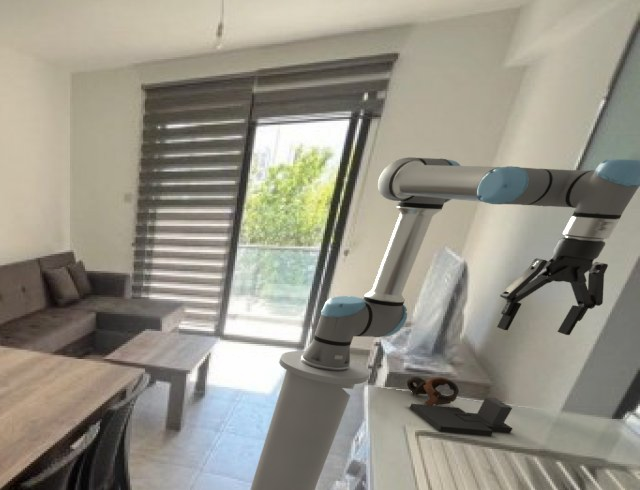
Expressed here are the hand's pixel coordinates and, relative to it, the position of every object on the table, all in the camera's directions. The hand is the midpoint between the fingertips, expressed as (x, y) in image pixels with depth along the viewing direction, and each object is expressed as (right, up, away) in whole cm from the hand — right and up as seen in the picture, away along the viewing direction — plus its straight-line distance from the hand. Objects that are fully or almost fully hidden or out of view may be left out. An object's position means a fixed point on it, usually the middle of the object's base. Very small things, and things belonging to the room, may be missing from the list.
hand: (532, 331), depth 118 cm
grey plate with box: (-7, -23, +7) cm, 25 cm away
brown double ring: (-10, -16, +20) cm, 27 cm away
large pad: (-14, -22, +8) cm, 27 cm away
